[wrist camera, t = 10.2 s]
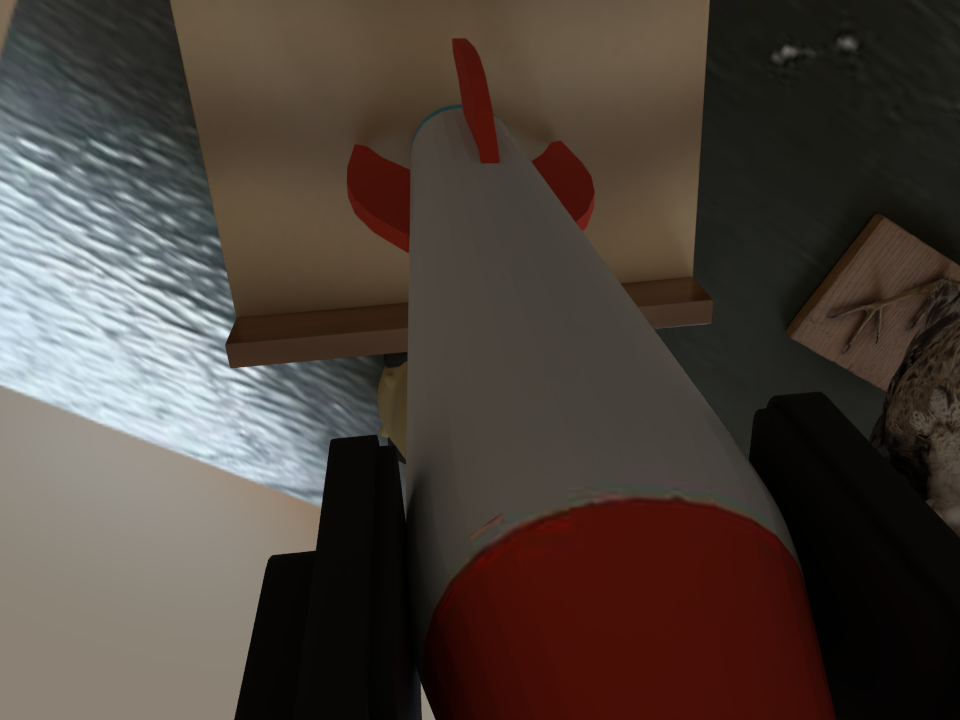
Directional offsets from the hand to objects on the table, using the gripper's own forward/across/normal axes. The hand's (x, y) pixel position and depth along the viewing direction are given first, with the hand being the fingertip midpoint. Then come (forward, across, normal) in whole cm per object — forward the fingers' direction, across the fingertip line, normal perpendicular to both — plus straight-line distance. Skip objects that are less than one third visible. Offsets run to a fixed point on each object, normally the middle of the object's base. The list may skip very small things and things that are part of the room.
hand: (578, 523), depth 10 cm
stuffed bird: (+32, -23, +13) cm, 42 cm away
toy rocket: (+22, 0, 0) cm, 22 cm away
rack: (+32, 0, 0) cm, 32 cm away
